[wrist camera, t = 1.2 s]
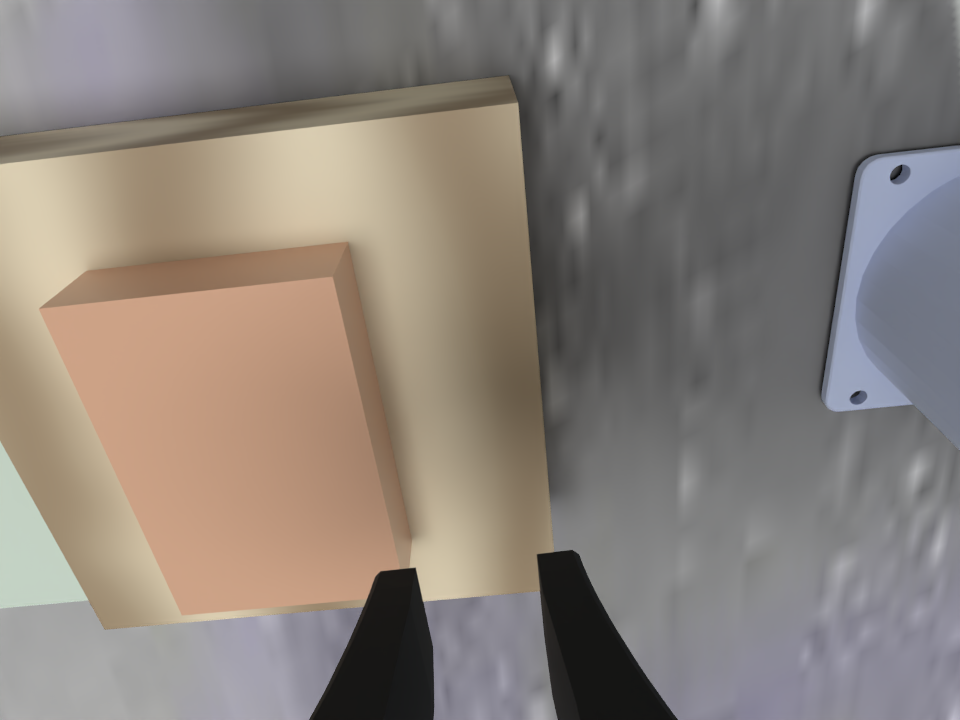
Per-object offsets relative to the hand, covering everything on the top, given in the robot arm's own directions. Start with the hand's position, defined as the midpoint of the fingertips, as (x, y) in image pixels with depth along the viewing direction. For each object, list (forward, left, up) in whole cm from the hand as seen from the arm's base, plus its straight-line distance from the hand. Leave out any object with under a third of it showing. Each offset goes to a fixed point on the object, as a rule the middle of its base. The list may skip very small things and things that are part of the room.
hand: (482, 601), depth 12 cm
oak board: (+5, 0, -10) cm, 12 cm away
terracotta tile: (+5, 0, -6) cm, 8 cm away
